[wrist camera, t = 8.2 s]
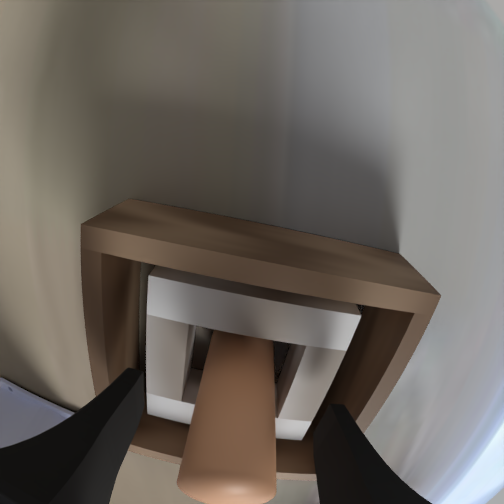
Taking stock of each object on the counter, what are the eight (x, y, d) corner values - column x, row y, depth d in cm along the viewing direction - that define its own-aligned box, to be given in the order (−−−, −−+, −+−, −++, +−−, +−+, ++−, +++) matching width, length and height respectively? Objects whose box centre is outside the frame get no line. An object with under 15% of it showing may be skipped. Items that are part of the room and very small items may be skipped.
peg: (208, 359, 15) (176, 498, 8) (215, 311, 14) (178, 460, 7) (265, 370, 15) (264, 511, 8) (279, 323, 14) (288, 476, 7)
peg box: (128, 395, 17) (106, 443, 13) (128, 198, 13) (80, 224, 9) (319, 429, 17) (326, 480, 13) (399, 254, 13) (441, 295, 9)
